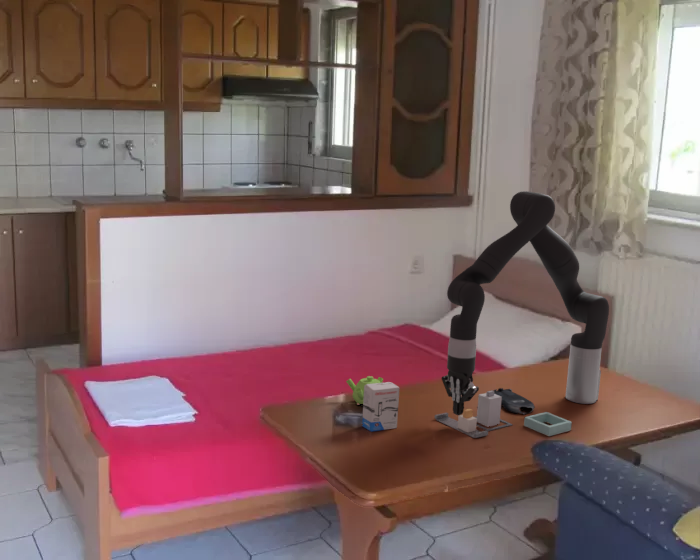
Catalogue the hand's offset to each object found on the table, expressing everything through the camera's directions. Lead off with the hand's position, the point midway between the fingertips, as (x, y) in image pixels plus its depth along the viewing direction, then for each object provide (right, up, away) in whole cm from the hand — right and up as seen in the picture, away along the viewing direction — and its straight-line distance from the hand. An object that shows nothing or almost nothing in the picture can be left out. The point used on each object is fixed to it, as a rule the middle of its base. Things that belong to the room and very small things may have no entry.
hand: (457, 413), depth 223 cm
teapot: (-25, 0, +15) cm, 29 cm away
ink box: (-22, -3, -3) cm, 22 cm away
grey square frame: (+9, -3, +4) cm, 10 cm away
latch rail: (+1, -4, -1) cm, 4 cm away
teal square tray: (+25, -4, +2) cm, 25 cm away
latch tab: (+2, -4, -3) cm, 5 cm away
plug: (+9, -3, +4) cm, 10 cm away
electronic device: (+19, -1, +19) cm, 27 cm away
